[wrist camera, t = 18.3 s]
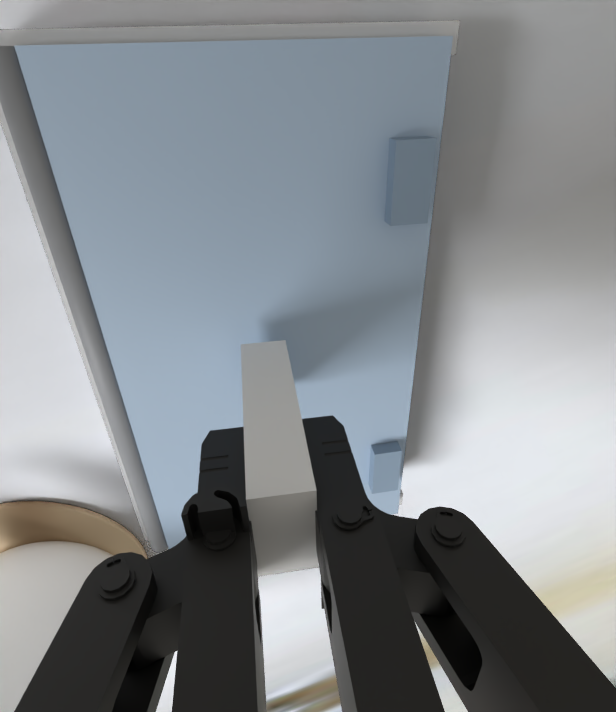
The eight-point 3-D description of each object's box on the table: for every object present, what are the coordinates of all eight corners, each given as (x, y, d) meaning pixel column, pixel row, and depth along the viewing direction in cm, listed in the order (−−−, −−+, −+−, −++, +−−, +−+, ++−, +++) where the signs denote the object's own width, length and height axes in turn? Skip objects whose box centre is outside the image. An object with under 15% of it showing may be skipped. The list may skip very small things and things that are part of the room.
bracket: (151, 504, 24) (145, 540, 22) (5, 37, 13) (-32, 30, 11) (388, 472, 25) (401, 504, 23) (430, 28, 14) (459, 20, 13)
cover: (152, 537, 21) (148, 564, 20) (-9, 48, 11) (-37, 44, 10) (392, 499, 23) (401, 523, 22) (440, 38, 13) (463, 33, 12)
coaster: (-21, 638, 27) (-24, 645, 27) (-116, 518, 21) (-122, 525, 21) (165, 608, 28) (165, 615, 28) (122, 487, 23) (121, 493, 22)
